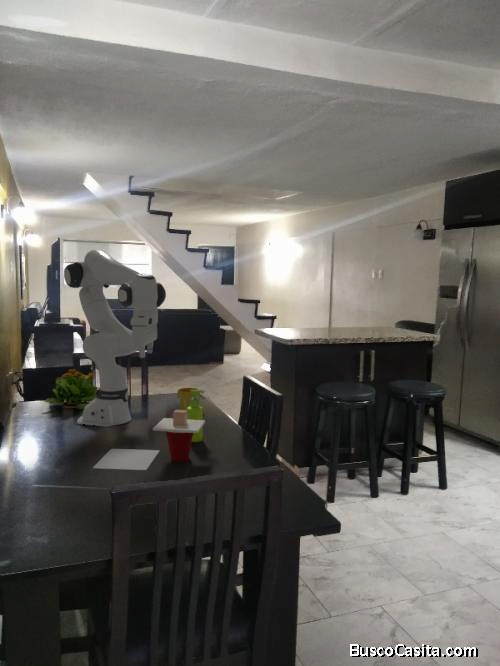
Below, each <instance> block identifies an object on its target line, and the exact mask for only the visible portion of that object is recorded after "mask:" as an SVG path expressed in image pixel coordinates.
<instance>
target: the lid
mask: <svg viewBox="0 0 500 666" xmlns="http://www.w3.org/2000/svg"><path fill="white" fill-rule="evenodd" d="M172 413H173V414H172V418H171V417H169V418H168V417H163V418H162V419H161V420H160V421H159V422H158V423H157V424H155V425H154V426H153V428H152V431H154V432H166V431H169V432H187V433H198V432H199V430H200V429H201V428H202V426H204V425H205V424H206V420H205V419H203V420H190V419H187V410H181V409H175V410H174V411H173V412H172Z"/></svg>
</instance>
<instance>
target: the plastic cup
mask: <svg viewBox="0 0 500 666" xmlns="http://www.w3.org/2000/svg"><path fill="white" fill-rule="evenodd" d="M165 433H166V434H165V435H166V438H167V439H166V440H167V443H168V450H169V453H170V454H169V455H170V459H171V461H172V462H174V463H175V462H176V463H182V462H186V461H188V460H189V459H190V452H191V447H192V443H193V442H192V437H193V434H194V433H187V432H169V431H165Z"/></svg>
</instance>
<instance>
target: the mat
mask: <svg viewBox="0 0 500 666" xmlns="http://www.w3.org/2000/svg"><path fill="white" fill-rule="evenodd" d="M159 452H160V450H159V449H135V448H134V449H128V448H124V449H123V448H110V450H108V452H107V453H106V454H104V455H103V457H101V459H99V461H97V463H95V465H94V466H93V467H92V469H99V470H100V469H102V470H103V469H104V470H126V471H127V470H129V471H131V470H134V471H147V469H149V467H150V466H151V464H152V462H153V461H154V460H155V458H156V457H157V455H158V454H159Z"/></svg>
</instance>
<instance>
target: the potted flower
mask: <svg viewBox="0 0 500 666" xmlns="http://www.w3.org/2000/svg"><path fill="white" fill-rule="evenodd" d="M94 377H95V373H93V372H89V373H88V374H87V375H85V374H83V373H82V372H81V371H78V370H76V369H75V368H73V369H68V372H65V373H64V374H62V375H61V376H58V377H56V379H54V380H55V388H53V389H52V392H53V394H54V395H55V396H56V398H55V397H50V398H46V399H45V400H44V401H43V402H45V403H48V404H56V405H61V406H63V407H65V408H64V409H66V408H76V409H77V410H84V408H85V406H86V405H88V404H89V403H90V402H91V401H92V400H94V399H95V398H96V397H97V396H96V395H95V392H96V391H97V390H98V389H99V388H98V387H97V386H95V385H94V384H92V383H93V379H94ZM63 407H62V408H63Z"/></svg>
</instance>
